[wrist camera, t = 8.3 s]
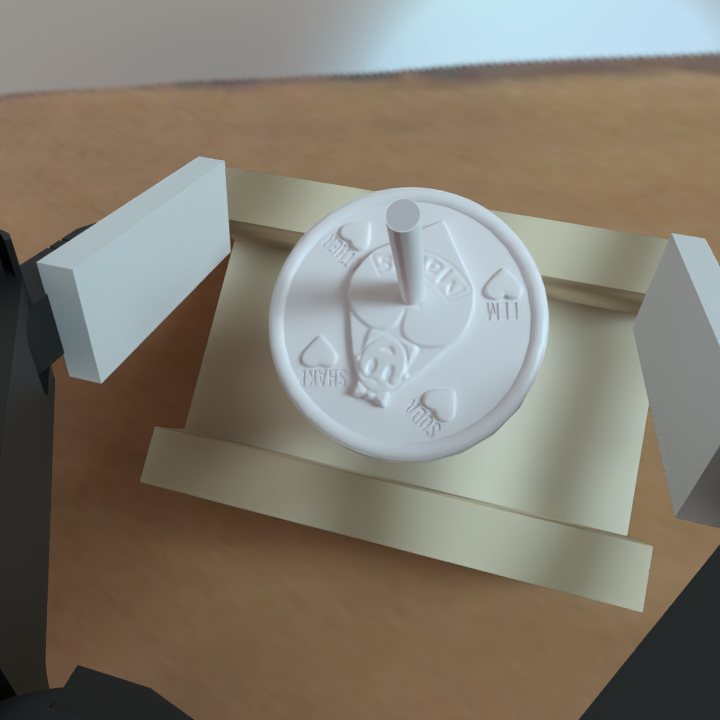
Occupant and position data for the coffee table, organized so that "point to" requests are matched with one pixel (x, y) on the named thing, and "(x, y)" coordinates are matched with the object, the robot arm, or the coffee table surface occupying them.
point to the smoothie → (408, 324)
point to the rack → (454, 473)
